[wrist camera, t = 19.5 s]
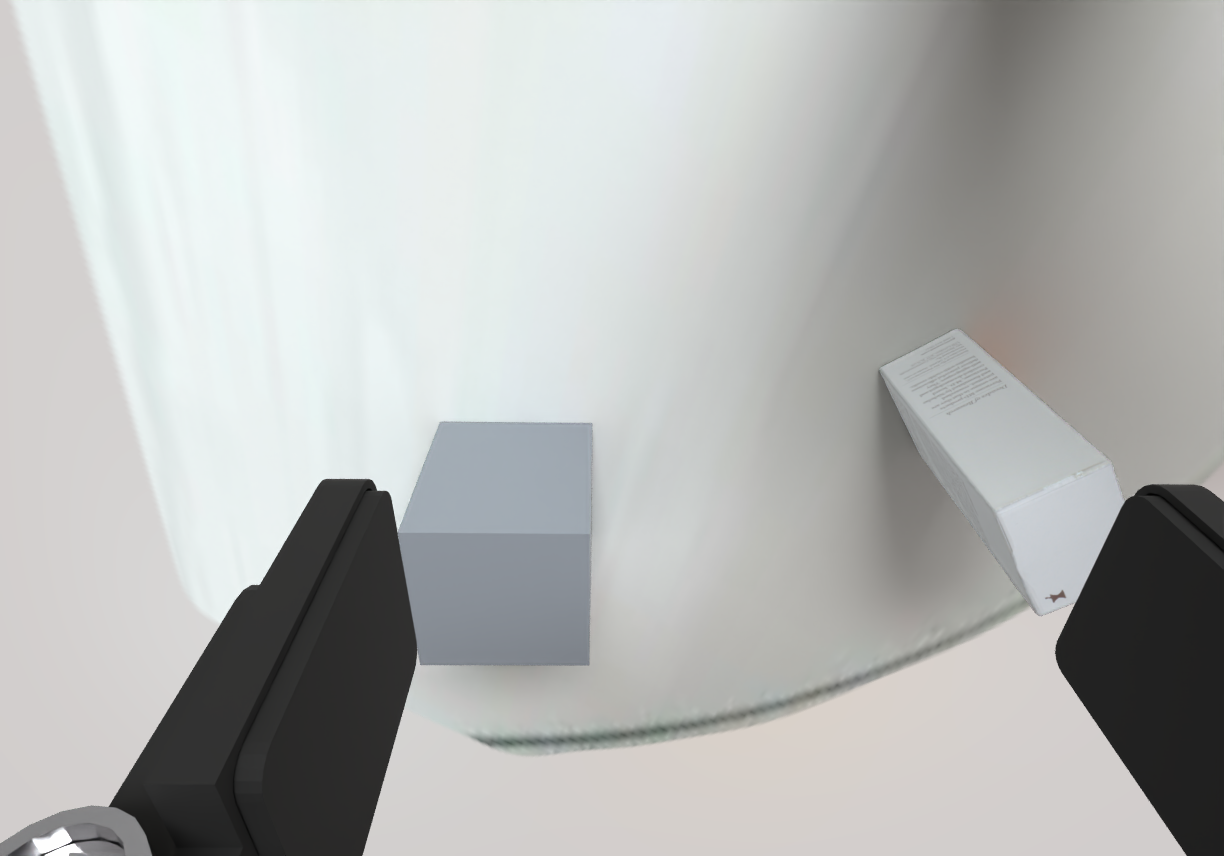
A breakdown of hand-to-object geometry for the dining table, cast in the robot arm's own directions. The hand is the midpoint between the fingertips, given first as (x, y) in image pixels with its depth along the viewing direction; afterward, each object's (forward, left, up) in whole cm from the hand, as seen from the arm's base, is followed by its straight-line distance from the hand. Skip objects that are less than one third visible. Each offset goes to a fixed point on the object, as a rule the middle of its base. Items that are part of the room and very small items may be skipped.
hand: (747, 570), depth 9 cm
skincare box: (-15, +10, -25) cm, 30 cm away
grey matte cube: (+6, +16, -24) cm, 30 cm away
